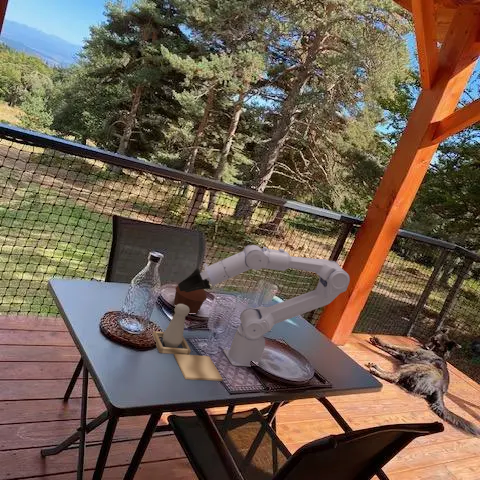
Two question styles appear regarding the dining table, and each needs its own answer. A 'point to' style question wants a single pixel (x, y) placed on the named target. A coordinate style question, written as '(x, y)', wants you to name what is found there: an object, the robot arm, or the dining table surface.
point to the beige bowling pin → (176, 327)
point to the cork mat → (197, 367)
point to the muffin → (190, 299)
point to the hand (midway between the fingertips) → (181, 288)
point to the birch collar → (167, 349)
